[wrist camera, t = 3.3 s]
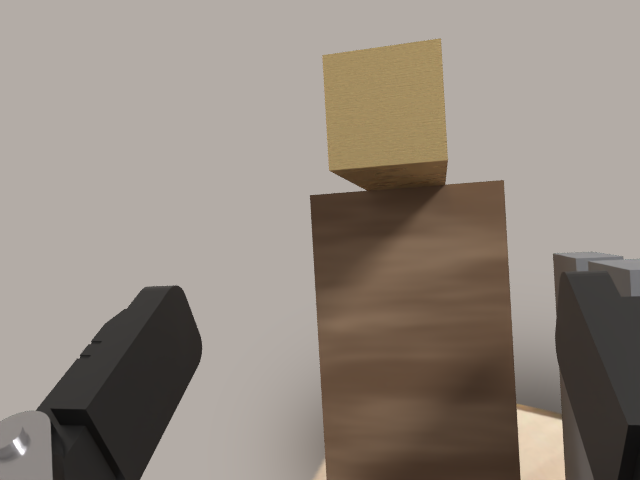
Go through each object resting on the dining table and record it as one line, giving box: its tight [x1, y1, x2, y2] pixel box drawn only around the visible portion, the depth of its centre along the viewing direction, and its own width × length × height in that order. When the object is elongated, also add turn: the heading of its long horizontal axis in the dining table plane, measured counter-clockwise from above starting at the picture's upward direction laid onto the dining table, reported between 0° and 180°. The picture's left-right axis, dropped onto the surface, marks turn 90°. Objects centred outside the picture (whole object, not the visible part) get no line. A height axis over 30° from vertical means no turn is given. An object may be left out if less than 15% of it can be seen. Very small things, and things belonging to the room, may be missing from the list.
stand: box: [310, 180, 520, 480], centre depth 35 cm, size 16×10×32 cm, turn 167°
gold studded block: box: [323, 39, 448, 191], centre depth 29 cm, size 24×4×5 cm, turn 167°
